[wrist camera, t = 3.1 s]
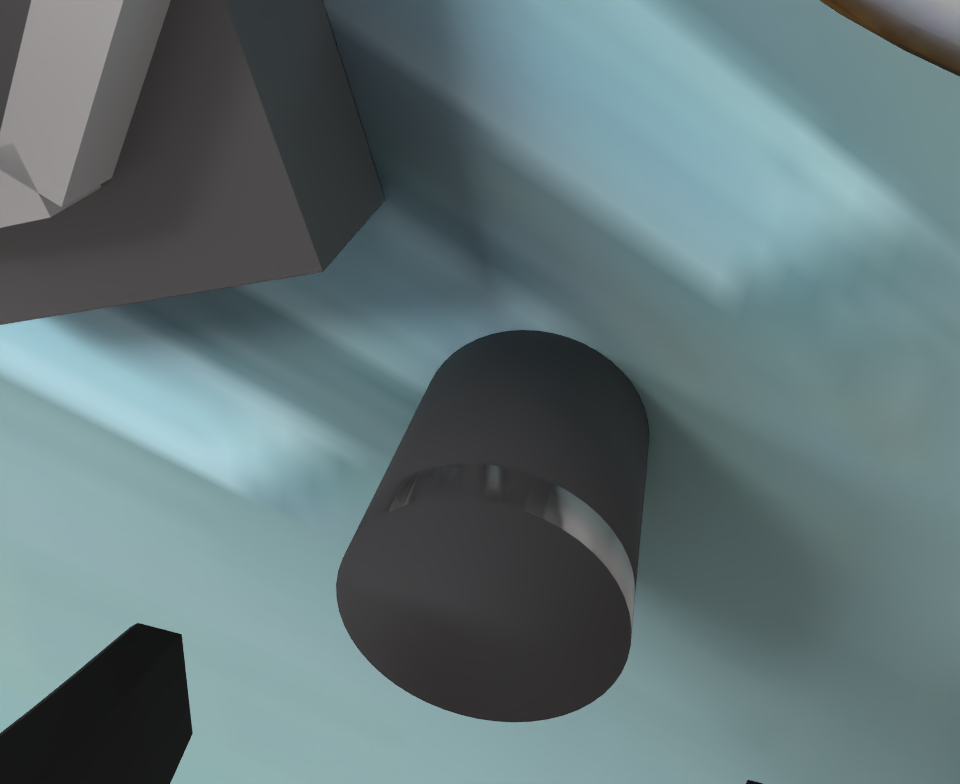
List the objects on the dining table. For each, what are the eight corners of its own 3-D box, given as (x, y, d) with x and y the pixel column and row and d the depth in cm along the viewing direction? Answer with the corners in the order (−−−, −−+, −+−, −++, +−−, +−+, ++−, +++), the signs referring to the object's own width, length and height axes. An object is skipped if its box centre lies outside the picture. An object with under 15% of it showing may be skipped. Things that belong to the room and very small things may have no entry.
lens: (456, 526, 19) (386, 721, 15) (396, 346, 17) (295, 514, 13) (665, 513, 18) (653, 723, 13) (628, 315, 15) (600, 492, 11)
